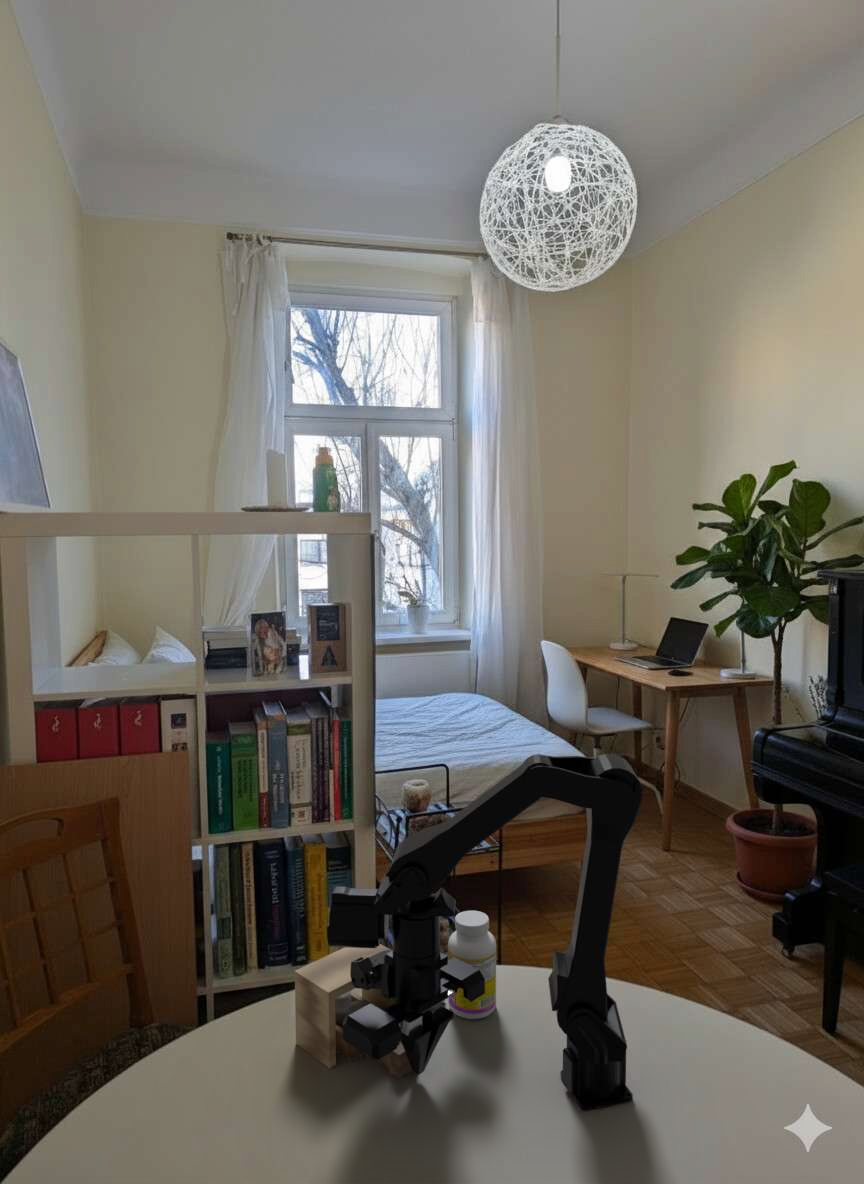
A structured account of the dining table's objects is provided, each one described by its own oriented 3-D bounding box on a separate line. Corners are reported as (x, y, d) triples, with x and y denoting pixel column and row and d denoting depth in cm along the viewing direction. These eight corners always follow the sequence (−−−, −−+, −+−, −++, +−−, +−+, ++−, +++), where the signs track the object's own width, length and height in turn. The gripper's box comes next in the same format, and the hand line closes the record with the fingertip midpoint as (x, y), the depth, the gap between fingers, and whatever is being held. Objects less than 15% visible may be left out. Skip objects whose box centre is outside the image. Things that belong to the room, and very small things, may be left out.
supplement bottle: (451, 991, 115) (451, 905, 114) (497, 995, 114) (497, 907, 113) (445, 1019, 108) (445, 928, 107) (494, 1023, 107) (494, 931, 106)
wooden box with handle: (428, 1059, 100) (428, 1024, 100) (387, 1087, 95) (386, 1050, 95) (348, 1008, 111) (348, 976, 110) (308, 1031, 106) (307, 997, 105)
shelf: (401, 1025, 107) (401, 955, 106) (329, 1068, 98) (328, 992, 98) (367, 1003, 112) (366, 936, 111) (296, 1043, 103) (294, 970, 103)
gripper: (424, 900, 107) (426, 1011, 108) (312, 951, 94) (315, 1078, 95) (487, 927, 100) (488, 1047, 101) (374, 988, 86) (376, 1126, 87)
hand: (418, 1072), depth 96 cm, fingers closed
